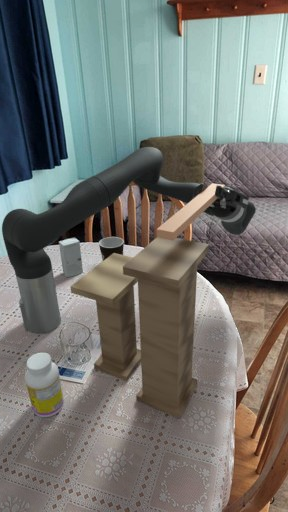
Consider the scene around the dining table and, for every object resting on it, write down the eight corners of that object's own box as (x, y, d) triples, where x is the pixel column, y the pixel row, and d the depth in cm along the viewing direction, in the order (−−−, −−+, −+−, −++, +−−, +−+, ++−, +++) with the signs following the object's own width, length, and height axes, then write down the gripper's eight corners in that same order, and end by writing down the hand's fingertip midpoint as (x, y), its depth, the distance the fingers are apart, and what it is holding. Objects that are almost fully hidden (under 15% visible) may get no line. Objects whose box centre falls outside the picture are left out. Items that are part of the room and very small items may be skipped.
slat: (211, 189, 81) (212, 183, 81) (224, 191, 80) (225, 184, 79) (156, 237, 60) (156, 229, 59) (173, 240, 59) (173, 232, 58)
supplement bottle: (33, 396, 78) (22, 351, 72) (64, 390, 80) (55, 346, 74) (32, 422, 73) (20, 376, 67) (65, 415, 74) (56, 369, 68)
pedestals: (120, 336, 95) (111, 216, 79) (206, 366, 85) (215, 235, 69) (78, 383, 81) (57, 250, 65) (175, 426, 71) (178, 280, 55)
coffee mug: (124, 273, 124) (123, 247, 119) (99, 273, 124) (97, 248, 120) (126, 257, 134) (125, 233, 130) (103, 257, 135) (101, 233, 130)
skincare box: (67, 277, 122) (62, 246, 117) (62, 272, 126) (57, 241, 120) (84, 272, 125) (80, 241, 120) (78, 267, 129) (74, 236, 123)
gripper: (251, 224, 87) (238, 211, 72) (197, 215, 93) (174, 201, 78) (258, 194, 87) (246, 174, 72) (203, 187, 93) (181, 168, 78)
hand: (209, 189), depth 75 cm, fingers closed on slat, 3 cm apart
